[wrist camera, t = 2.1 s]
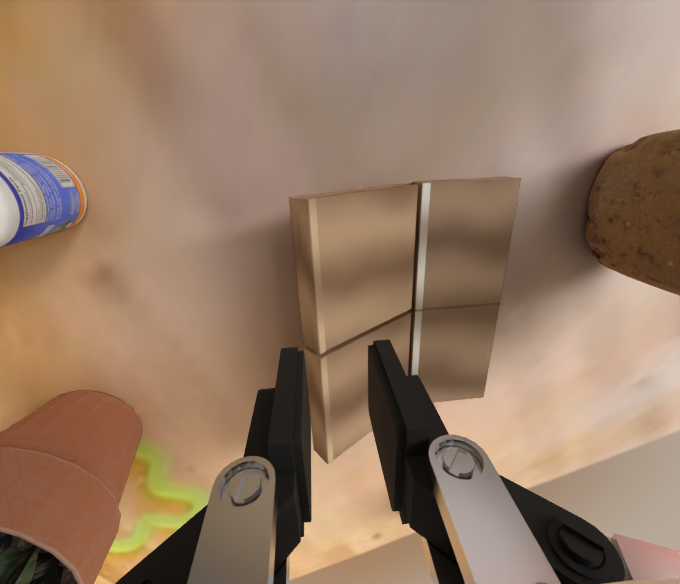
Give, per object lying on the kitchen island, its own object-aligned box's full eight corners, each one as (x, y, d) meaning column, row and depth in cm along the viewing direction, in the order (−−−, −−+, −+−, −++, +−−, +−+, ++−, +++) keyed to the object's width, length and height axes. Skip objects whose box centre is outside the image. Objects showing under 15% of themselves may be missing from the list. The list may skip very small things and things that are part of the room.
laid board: (413, 181, 25) (422, 183, 23) (505, 177, 26) (521, 178, 24) (403, 391, 33) (409, 405, 31) (473, 384, 34) (483, 397, 32)
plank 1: (288, 197, 19) (307, 199, 17) (398, 184, 25) (418, 184, 23) (303, 343, 23) (319, 354, 21) (394, 302, 29) (412, 308, 27)
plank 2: (303, 348, 23) (320, 359, 22) (394, 306, 29) (411, 313, 27) (313, 449, 27) (328, 464, 26) (391, 394, 33) (406, 404, 31)
